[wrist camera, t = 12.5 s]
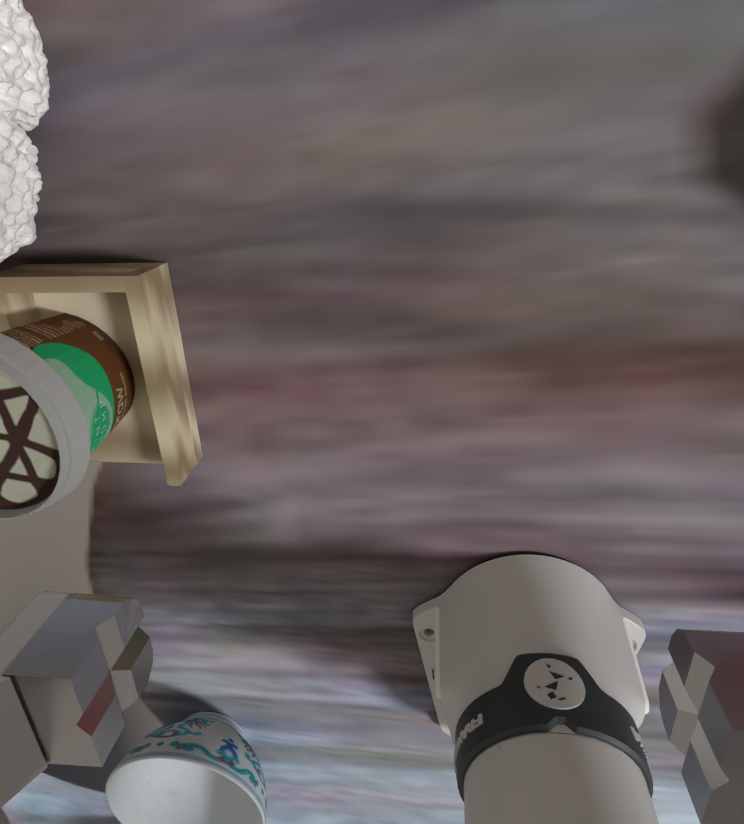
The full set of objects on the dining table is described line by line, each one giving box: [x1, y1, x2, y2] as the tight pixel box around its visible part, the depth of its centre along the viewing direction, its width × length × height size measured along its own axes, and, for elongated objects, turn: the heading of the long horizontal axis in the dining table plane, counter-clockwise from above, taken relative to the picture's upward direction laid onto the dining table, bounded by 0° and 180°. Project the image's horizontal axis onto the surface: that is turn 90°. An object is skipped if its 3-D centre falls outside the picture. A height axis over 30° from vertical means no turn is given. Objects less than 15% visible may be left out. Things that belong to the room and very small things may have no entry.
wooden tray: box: [0, 262, 203, 486], centre depth 41 cm, size 15×10×4 cm
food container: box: [0, 313, 135, 520], centre depth 38 cm, size 12×6×10 cm, turn 170°
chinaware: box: [106, 712, 267, 824], centre depth 56 cm, size 15×15×8 cm
